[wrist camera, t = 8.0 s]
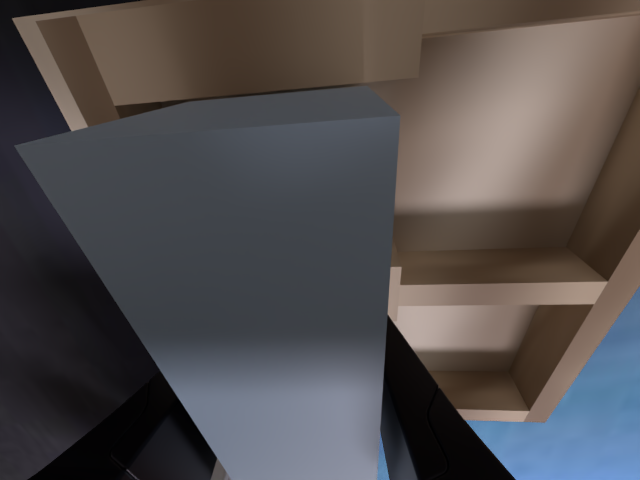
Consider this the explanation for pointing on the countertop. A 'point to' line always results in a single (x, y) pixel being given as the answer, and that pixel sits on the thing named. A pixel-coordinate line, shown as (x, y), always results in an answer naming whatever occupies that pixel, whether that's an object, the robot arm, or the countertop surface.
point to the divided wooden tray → (428, 154)
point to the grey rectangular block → (248, 264)
